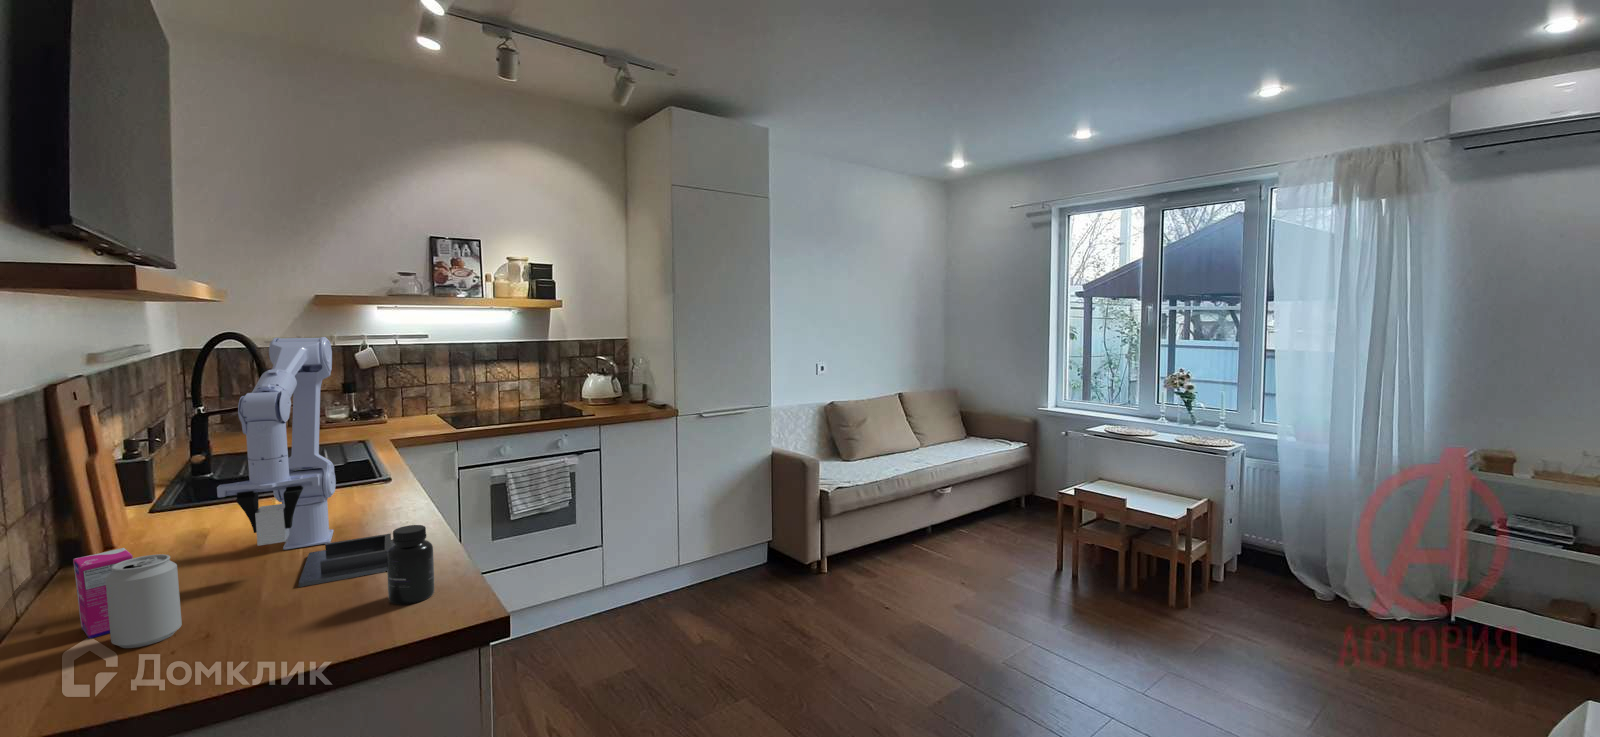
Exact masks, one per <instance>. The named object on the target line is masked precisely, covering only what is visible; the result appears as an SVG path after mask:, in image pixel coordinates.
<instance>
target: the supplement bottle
mask: <svg viewBox="0 0 1600 737" xmlns="http://www.w3.org/2000/svg"><path fill="white" fill-rule="evenodd" d="M426 528H427V527H426V525H423V524H422V525H421V524H410V525H409V524H408V525H404V526H401V527H397V528H395V529H394V530H393V532H392V540H393V543H395V544H394V545H393V546H391V547H390V548H389V550H388V552H387V572H386V573H387V593H388V602H390V603H391V604H393V605H397V606H398V605H399V606H400V605H401V606H404V605H411V604H417V603H421V602H423V601H426V600H428V599H429V598H430V597H432V596H433V594H434V593H435V571H434V570H435V568H434V565H435V564H434V546H433V544H432V543H431V542H430V541H429V540H426V539H427V531H426V530H427V529H426Z"/></svg>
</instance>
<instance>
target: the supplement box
mask: <svg viewBox="0 0 1600 737" xmlns="http://www.w3.org/2000/svg"><path fill="white" fill-rule="evenodd" d="M132 558H134V557H133V554H132V553H131V552H129V551H128V550H127V549H126V548H125V547H121V548H117V549H112V550H108V551H104V552H100V553H95V554H90V555H86V556H81V557H76V558H73V559H72V561H73V568H74V577H75V586H76V587H75V588H76V593H77V594H76V595H77V602H78V612H79V618H80V619H79V621H80V627H81V629H82V631H84V633H85V634H86V636H87V638H88V639H89V638H91V639H94V638H98V637H101V636H105V635H110V625H109V614H108V603H107V592H106V581H105V579H106V578H107V576H108V575H109V574H110V573H111V572H112V571H113V570H111V567H112V566H113V565H115V564H117V563H119V562H122V561H125V560H129V559H132Z"/></svg>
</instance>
